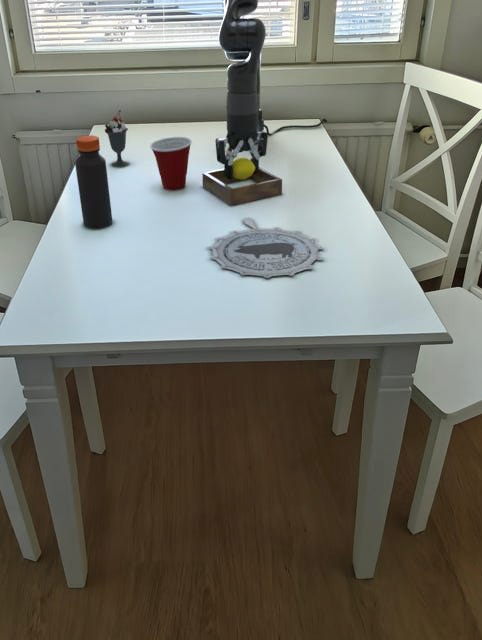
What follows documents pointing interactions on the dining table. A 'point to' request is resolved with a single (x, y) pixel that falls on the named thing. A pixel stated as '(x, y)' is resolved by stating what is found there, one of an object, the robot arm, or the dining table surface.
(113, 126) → the sundae
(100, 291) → the dining table surface
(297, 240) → the decorative wall hanging
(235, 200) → the wooden box
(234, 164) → the lemon
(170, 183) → the plastic cup
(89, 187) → the bottle
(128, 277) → the dining table surface
